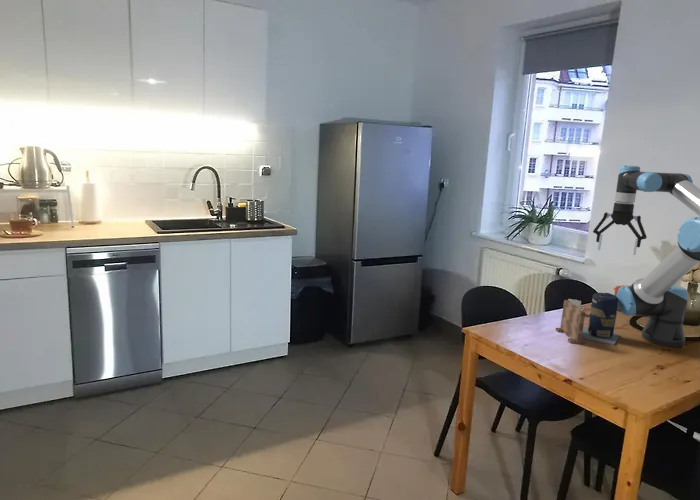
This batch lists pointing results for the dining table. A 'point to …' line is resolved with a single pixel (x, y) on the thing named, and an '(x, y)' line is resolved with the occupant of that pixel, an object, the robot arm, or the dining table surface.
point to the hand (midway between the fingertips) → (616, 252)
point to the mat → (608, 340)
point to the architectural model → (576, 303)
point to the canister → (603, 315)
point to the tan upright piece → (572, 322)
